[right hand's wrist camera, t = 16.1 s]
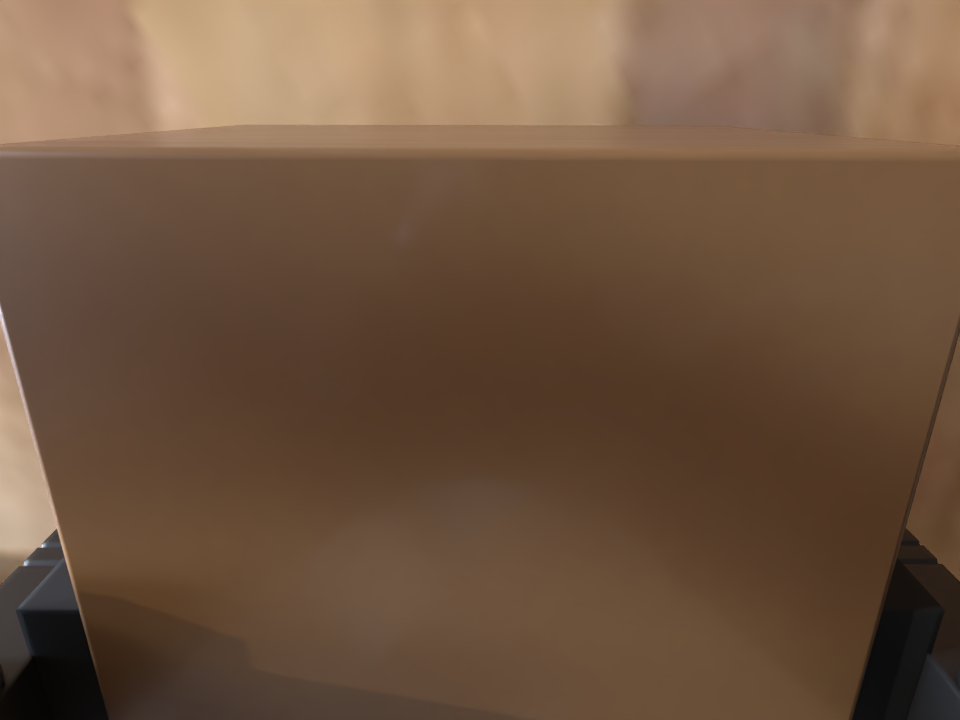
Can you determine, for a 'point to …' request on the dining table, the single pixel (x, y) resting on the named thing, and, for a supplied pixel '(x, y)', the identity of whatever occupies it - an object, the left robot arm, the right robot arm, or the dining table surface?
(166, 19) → the dining table surface
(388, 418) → the wooden beam
